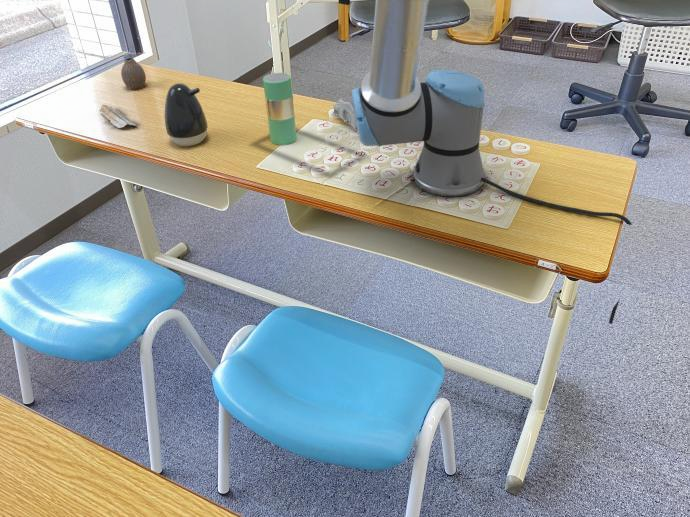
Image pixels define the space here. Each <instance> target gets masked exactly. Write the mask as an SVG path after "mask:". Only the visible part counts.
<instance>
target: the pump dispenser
mask: <svg viewBox="0 0 690 517" xmlns="http://www.w3.org/2000/svg"><path fill="white" fill-rule="evenodd" d="M200 92H201V90H200V88H199V87H196V88H192V89H191V88H190V87H189V86H188V85H187V84H185V83H180V82H178V83H174V84H173V85H171V86H170V87H169V89H168V91H167V94H166V97H165V104H164V124H165V125H164V126H165V130H166V134H167V135H168V136H169V138H170V139H171V141H172V142H173V143H175V144H176V145H178V146H181V147H192V146H196V145H199V144H200V143H202V142H203V141H204V140H205V138H206V136H207V133H208V132H207V131H208V127H209V125H208V121H207V118H206V114H205V112H204V110H203V107H202V105H201V102H200V101H199V99H198V98H197V96H196V95H197V94H199V93H200Z"/></svg>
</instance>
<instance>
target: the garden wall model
mask: <svg viewBox="0 0 690 517" xmlns="http://www.w3.org/2000/svg"><path fill="white" fill-rule="evenodd" d="M332 106H333V114H334V115H336V116H337V117H338V118H340V119H341V120H343V122H344V123H346V122H348V123H347V125H349V126H351V127H352V128H353V129H357V124H356V118H355V113H354V106H353V102H349V101H346V100H344V99H342V98H339V99H338V100H337V103H336V102H335V103H334V104H333V105H332Z"/></svg>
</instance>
